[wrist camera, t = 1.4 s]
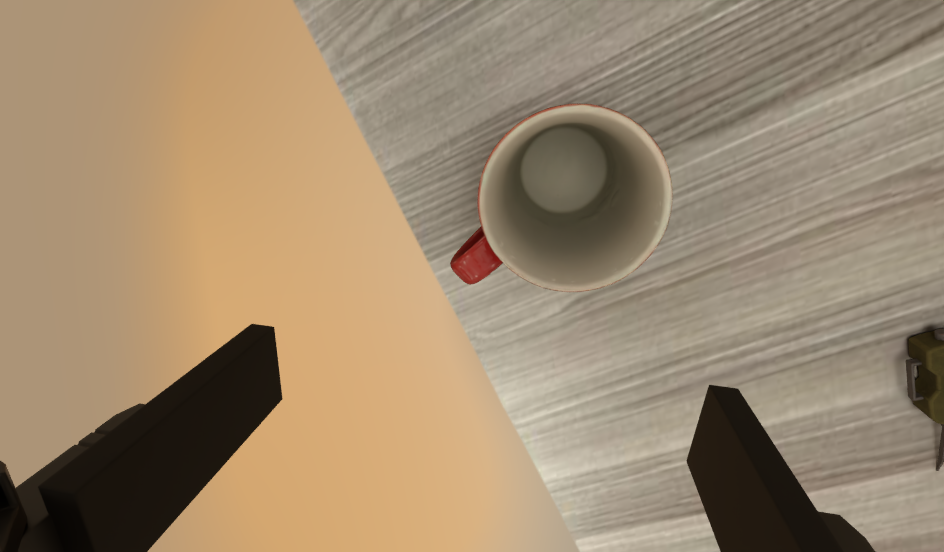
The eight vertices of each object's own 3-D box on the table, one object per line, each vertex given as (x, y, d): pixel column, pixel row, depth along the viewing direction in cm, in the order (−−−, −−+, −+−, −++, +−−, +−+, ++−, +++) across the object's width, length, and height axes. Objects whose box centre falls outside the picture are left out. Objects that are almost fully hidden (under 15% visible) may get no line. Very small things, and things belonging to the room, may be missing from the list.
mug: (583, 73, 32) (605, 57, 19) (650, 181, 33) (710, 230, 21) (442, 180, 36) (386, 223, 23) (509, 271, 38) (489, 355, 25)
